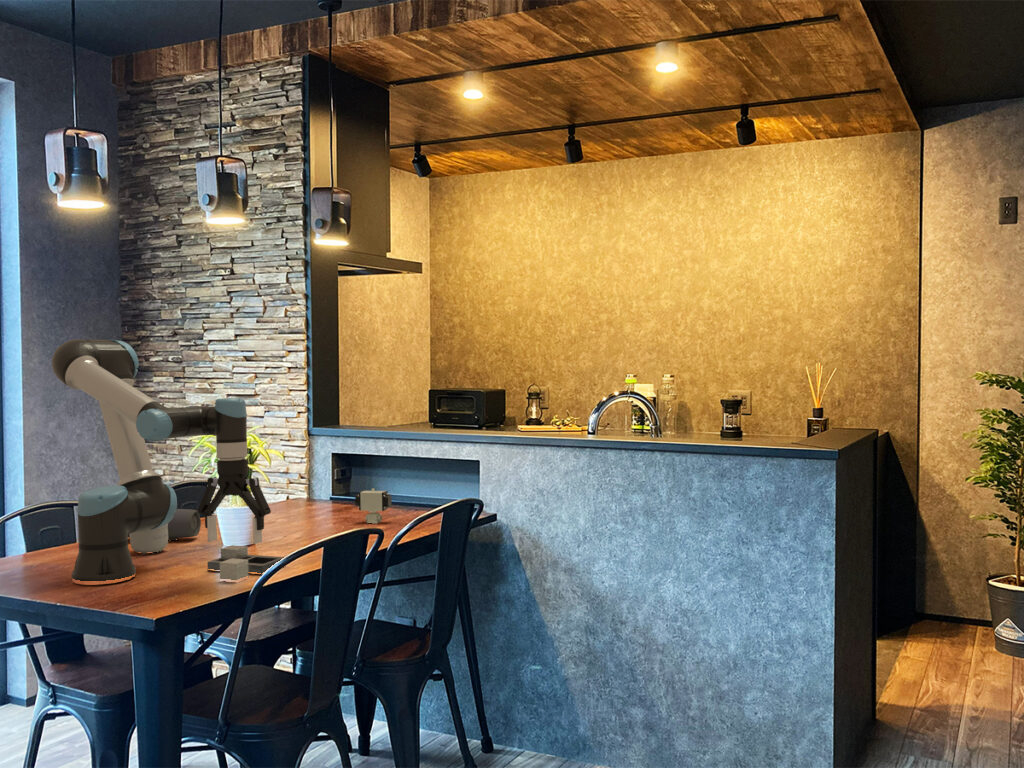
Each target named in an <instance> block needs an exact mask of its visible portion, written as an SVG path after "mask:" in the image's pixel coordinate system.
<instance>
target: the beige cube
mask: <svg viewBox="0 0 1024 768" xmlns="http://www.w3.org/2000/svg"><path fill="white" fill-rule="evenodd" d="M246 576H248V577H249V574H248V560H247V559H233V558H231V559H229V560H226V561H223V562H220V572H219V580H220V579H231V580H238V579H240V578H243V577H246Z"/></svg>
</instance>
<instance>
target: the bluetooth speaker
mask: <svg viewBox="0 0 1024 768" xmlns="http://www.w3.org/2000/svg"><path fill="white" fill-rule="evenodd" d="M201 525H202V520H201V515H200V513H198V509H197V510H196V509H189V508H188V509H187V508H176V512H175V513H174V517H173V518H172V520H171V521H170V522H169V523H168V540H176V539H182V538H193V537H196V536H198V535H199V533H200V531H201ZM128 538H130V536H129V534H128ZM176 541H177V540H176Z"/></svg>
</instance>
